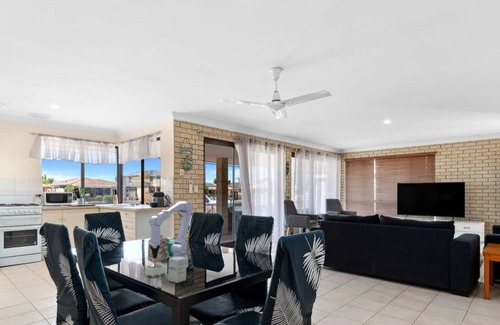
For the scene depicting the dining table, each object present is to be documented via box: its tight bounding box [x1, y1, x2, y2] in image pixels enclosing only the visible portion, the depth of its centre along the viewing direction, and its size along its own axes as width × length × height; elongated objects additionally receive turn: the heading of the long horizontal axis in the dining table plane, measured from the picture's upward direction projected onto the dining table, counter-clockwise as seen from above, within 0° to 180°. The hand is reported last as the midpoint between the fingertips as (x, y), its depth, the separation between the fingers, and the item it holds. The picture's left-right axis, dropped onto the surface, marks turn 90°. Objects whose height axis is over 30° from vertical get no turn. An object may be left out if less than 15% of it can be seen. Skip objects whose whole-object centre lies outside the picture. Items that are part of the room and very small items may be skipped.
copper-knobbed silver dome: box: [147, 258, 162, 267], centre depth 192 cm, size 8×8×4 cm
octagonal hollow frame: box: [143, 263, 165, 278], centre depth 192 cm, size 12×11×5 cm
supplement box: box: [167, 256, 187, 284], centre depth 179 cm, size 7×7×13 cm
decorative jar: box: [147, 234, 171, 262], centre depth 235 cm, size 12×12×18 cm
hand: (154, 257), depth 193 cm, fingers closed
